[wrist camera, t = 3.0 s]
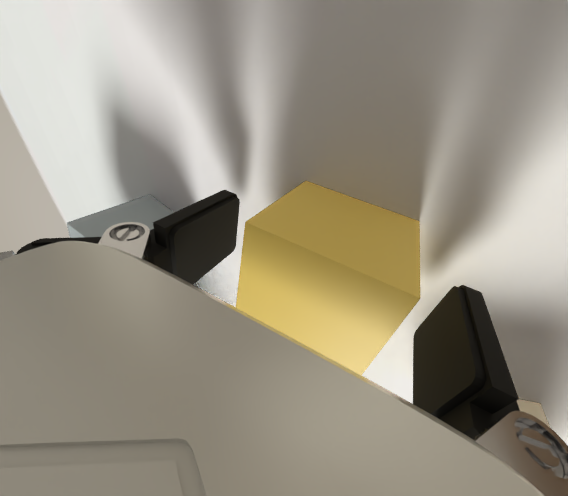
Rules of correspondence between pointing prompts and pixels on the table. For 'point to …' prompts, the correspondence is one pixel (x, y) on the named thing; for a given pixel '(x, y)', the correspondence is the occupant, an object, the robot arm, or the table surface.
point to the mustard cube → (330, 272)
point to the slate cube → (119, 217)
